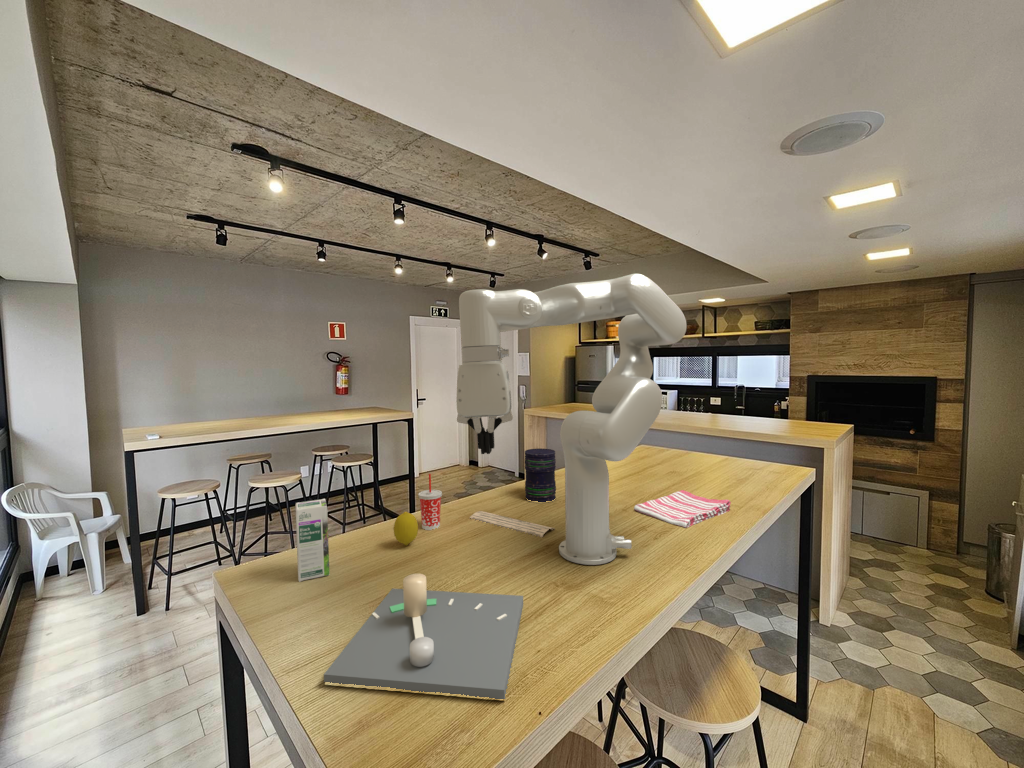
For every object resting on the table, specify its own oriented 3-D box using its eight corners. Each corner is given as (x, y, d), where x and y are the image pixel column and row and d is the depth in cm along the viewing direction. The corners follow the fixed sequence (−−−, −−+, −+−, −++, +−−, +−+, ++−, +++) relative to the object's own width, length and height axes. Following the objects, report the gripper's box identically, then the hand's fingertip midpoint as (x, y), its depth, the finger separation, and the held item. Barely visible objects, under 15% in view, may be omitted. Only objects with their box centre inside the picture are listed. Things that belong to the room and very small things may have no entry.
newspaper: (469, 521, 118) (469, 515, 118) (485, 514, 123) (485, 508, 123) (542, 540, 104) (542, 533, 104) (557, 531, 110) (557, 524, 110)
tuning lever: (436, 663, 57) (435, 618, 57) (409, 669, 56) (408, 624, 56) (425, 604, 72) (424, 569, 72) (403, 608, 71) (402, 572, 70)
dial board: (523, 604, 75) (523, 594, 75) (504, 701, 53) (504, 688, 53) (392, 596, 78) (392, 587, 78) (324, 685, 56) (323, 672, 56)
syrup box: (298, 582, 84) (295, 509, 83) (297, 570, 89) (295, 501, 88) (329, 575, 86) (327, 504, 86) (327, 564, 91) (325, 497, 91)
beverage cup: (421, 532, 108) (420, 478, 108) (416, 524, 114) (415, 472, 113) (445, 528, 111) (444, 475, 110) (439, 521, 116) (438, 470, 116)
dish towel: (733, 511, 122) (733, 499, 122) (686, 530, 108) (686, 517, 108) (679, 497, 136) (679, 486, 135) (631, 513, 122) (631, 500, 122)
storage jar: (526, 493, 141) (526, 448, 140) (556, 494, 140) (556, 448, 139) (523, 502, 131) (522, 454, 131) (555, 503, 130) (554, 454, 129)
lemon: (412, 551, 97) (411, 516, 97) (389, 549, 98) (389, 515, 98) (422, 541, 103) (421, 508, 102) (400, 539, 104) (400, 507, 104)
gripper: (522, 355, 84) (526, 447, 85) (447, 358, 85) (452, 449, 86) (519, 354, 76) (524, 456, 77) (437, 358, 78) (443, 458, 79)
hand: (486, 452), depth 82 cm, fingers closed
